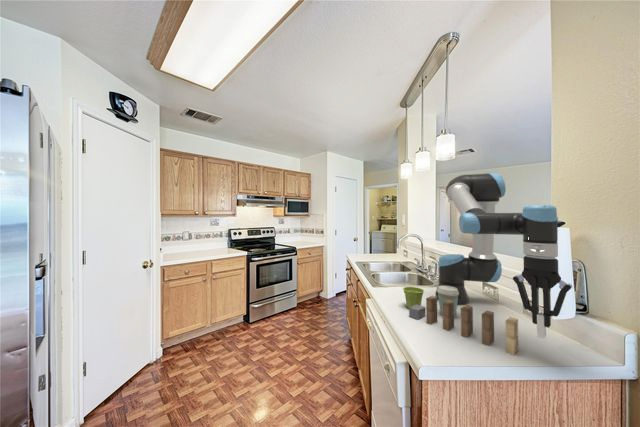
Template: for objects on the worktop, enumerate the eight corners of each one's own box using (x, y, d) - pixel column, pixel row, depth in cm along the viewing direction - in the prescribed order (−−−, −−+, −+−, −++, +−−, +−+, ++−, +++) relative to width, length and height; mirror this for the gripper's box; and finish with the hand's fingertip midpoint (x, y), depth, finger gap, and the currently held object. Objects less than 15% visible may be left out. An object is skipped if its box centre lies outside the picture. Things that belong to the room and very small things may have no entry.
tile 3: (466, 331, 87) (466, 304, 87) (472, 333, 85) (472, 306, 85) (461, 335, 84) (460, 308, 84) (467, 338, 82) (467, 309, 82)
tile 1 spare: (510, 347, 76) (510, 316, 77) (518, 349, 75) (517, 318, 75) (505, 352, 73) (505, 320, 74) (513, 355, 72) (513, 323, 72)
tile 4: (448, 325, 92) (448, 300, 92) (454, 327, 90) (453, 301, 90) (442, 328, 89) (442, 302, 89) (448, 330, 87) (448, 304, 87)
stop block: (416, 313, 103) (416, 304, 103) (425, 316, 100) (425, 307, 100) (409, 316, 100) (409, 307, 100) (418, 320, 96) (417, 310, 97)
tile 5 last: (432, 319, 97) (432, 295, 97) (437, 321, 95) (437, 296, 96) (426, 322, 94) (426, 298, 94) (431, 324, 92) (431, 299, 93)
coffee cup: (462, 320, 96) (462, 291, 96) (440, 318, 98) (440, 290, 98) (455, 312, 105) (454, 285, 105) (434, 310, 106) (434, 284, 106)
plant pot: (400, 303, 115) (400, 286, 115) (419, 304, 114) (419, 286, 115) (406, 311, 105) (406, 292, 106) (427, 311, 105) (427, 292, 105)
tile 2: (487, 338, 82) (487, 310, 82) (494, 341, 80) (493, 312, 80) (482, 343, 78) (481, 314, 79) (489, 346, 77) (488, 316, 77)
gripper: (509, 255, 72) (510, 331, 71) (570, 261, 62) (572, 350, 61) (515, 253, 77) (517, 324, 76) (573, 258, 66) (575, 341, 66)
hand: (541, 336), depth 69 cm, fingers closed
